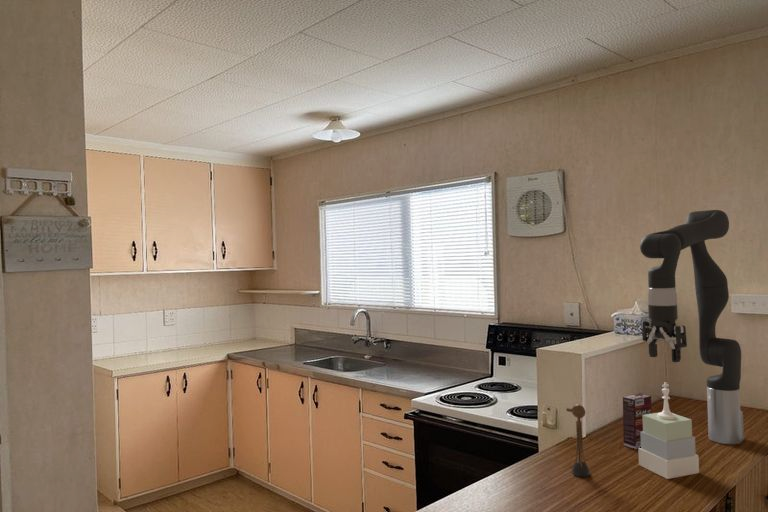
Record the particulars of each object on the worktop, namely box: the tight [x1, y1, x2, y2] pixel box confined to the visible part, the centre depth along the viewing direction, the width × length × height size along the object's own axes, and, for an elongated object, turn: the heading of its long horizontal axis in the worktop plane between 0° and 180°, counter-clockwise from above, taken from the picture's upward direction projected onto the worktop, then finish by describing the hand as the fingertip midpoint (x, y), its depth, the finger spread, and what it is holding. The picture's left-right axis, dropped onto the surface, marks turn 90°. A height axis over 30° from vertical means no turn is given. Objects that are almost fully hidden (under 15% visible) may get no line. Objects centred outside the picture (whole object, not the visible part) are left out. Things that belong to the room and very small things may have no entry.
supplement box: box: [622, 393, 653, 450], centre depth 184 cm, size 9×5×16 cm, turn 119°
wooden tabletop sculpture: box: [565, 404, 591, 478], centre depth 163 cm, size 6×5×20 cm
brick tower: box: [637, 411, 700, 480], centre depth 164 cm, size 11×11×15 cm
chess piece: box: [657, 381, 676, 420], centre depth 164 cm, size 5×5×10 cm
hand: (664, 359), depth 164 cm, fingers open, 8 cm apart
